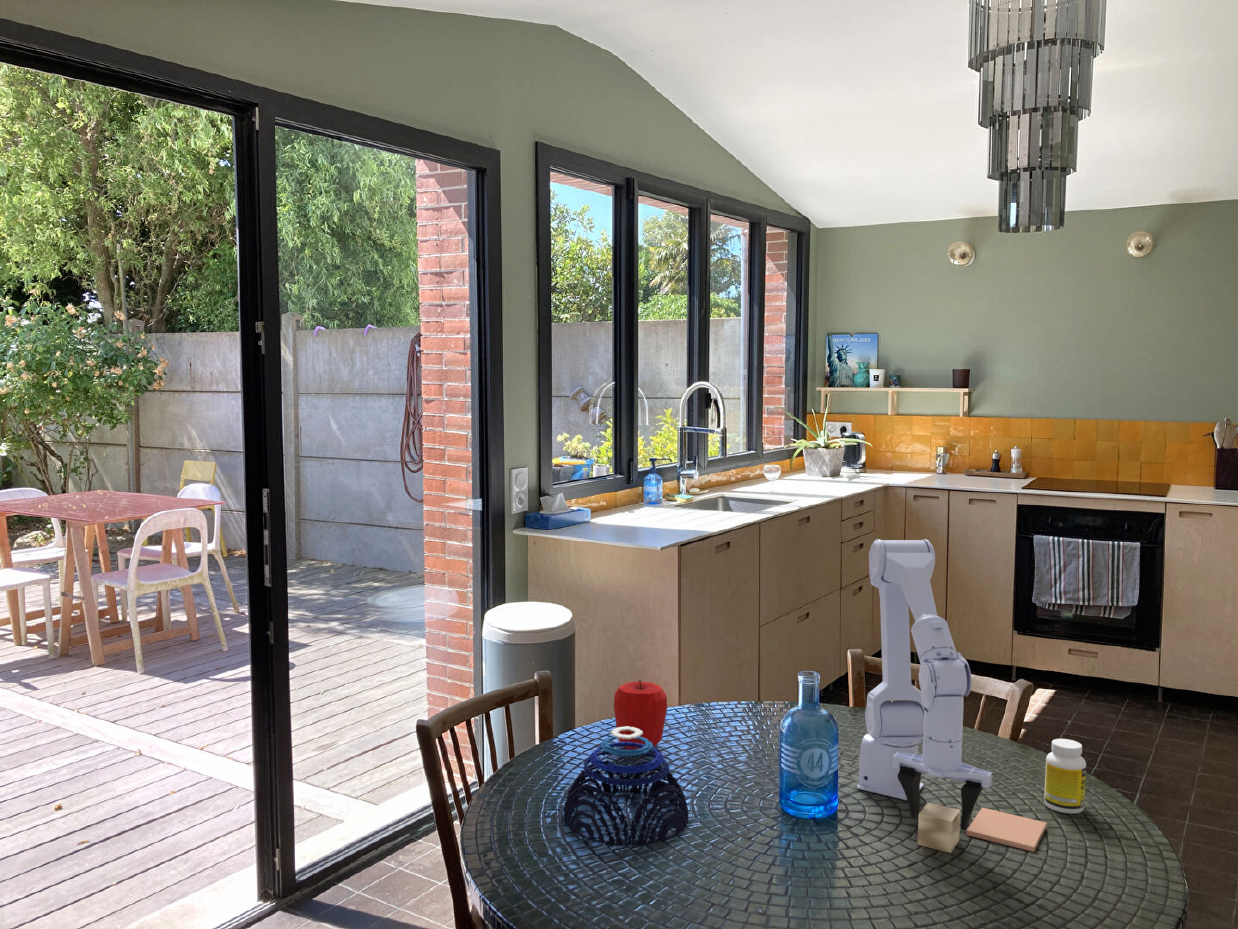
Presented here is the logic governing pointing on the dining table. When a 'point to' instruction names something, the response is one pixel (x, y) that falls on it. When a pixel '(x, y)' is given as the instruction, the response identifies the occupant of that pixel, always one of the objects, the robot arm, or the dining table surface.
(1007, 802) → the dining table surface
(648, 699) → the apple
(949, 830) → the maple cube
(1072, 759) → the pill bottle
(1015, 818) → the coaster
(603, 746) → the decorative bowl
